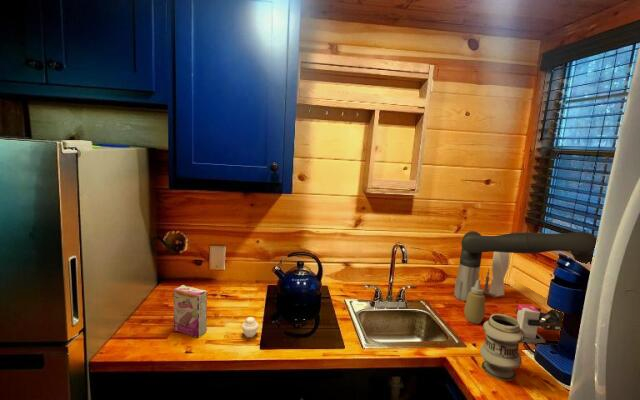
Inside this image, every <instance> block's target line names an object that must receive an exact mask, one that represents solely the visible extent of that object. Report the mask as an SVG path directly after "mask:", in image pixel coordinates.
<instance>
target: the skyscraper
mask: <svg viewBox="0 0 640 400" xmlns="http://www.w3.org/2000/svg"><path fill="white" fill-rule="evenodd" d="M510 257H511V256H510V253H506V252H493V256H492V263H491V274H492V279H491V281H490V269H489V268H488V271H487V273H486V274H487V275H486V277H485V284H484V289H483V294H486V295H488V296H491V297H493V298H500V297H505V283H504V282H505V281H504V279H505V276H506V274H507V273H508V269H509V265H510ZM489 281H490V286H489Z"/></svg>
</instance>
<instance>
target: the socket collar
mask: <svg viewBox="0 0 640 400" xmlns="http://www.w3.org/2000/svg"><path fill="white" fill-rule="evenodd" d="M524 342H526V343H524ZM521 343H523V344H536V345H538V344H537V343H545V344H546V339H545V338H543V337H542V336H541V335H540V334H539V333H538V332H537V333H536V338H524V340H523V341H522V342H521ZM521 343H520V344H521Z"/></svg>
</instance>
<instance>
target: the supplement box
mask: <svg viewBox="0 0 640 400" xmlns="http://www.w3.org/2000/svg"><path fill="white" fill-rule="evenodd" d="M536 308H537V307H535V306H534V305H527V304H518V307H517V309H518V312H517V314H516V318H515V319H516V320H517V321H518V322H519V324H520V328H521V329H522V331H523V333H524V338H536V333H538V328H539V326H529V325H528V324H527V323H528V320H529V319H531V320H539V315H540V312H539V311H538V310H537V309H536Z"/></svg>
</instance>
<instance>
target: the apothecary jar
mask: <svg viewBox="0 0 640 400" xmlns="http://www.w3.org/2000/svg"><path fill="white" fill-rule="evenodd" d="M482 328H483V332H484V333H485V341H484V343H482V345H481V346H480V349H479V353H480V356H481V357H482V359H483V360H484V361H483V362H482V363H481V368H482V369H483V370H484V373H486V374H487V375H489V376H490V377H492V378H494V379H497V380H500V381H506V382H508V381H513V380H514V379H516V372H515V371H514V370H515V369H518V368H520V366H522V362H523V360H522V356H521V355H520V352H519V346H520V344H521V342H522V341H523V340H524V333H523V331H522V329H521V328H520V324H519V322H518V321H517V320H516V318H515V317H512V316H510V315H507V314H501V313H494V314H491V315H490V316H489V319H488V320H485V322H484V323H483V325H482Z"/></svg>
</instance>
